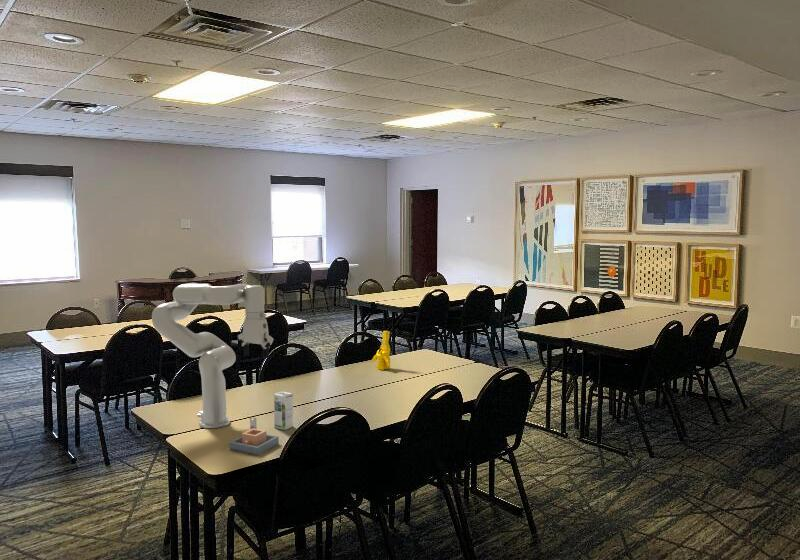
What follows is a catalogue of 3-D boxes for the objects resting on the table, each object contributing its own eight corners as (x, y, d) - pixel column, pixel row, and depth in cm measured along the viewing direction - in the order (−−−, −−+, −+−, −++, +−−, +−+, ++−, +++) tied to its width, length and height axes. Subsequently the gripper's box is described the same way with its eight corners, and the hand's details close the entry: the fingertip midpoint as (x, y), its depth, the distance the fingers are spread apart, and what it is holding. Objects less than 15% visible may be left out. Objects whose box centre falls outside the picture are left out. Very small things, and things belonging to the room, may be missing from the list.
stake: (249, 433, 247) (248, 419, 246) (253, 431, 249) (252, 417, 248) (254, 434, 246) (253, 420, 245) (257, 432, 248) (257, 418, 247)
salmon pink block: (253, 440, 236) (252, 428, 236) (266, 443, 234) (266, 430, 233) (239, 448, 229) (238, 435, 228) (252, 450, 226) (252, 437, 226)
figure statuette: (368, 367, 357) (368, 330, 355) (379, 365, 362) (379, 328, 360) (387, 373, 343) (387, 334, 341) (397, 370, 348) (398, 332, 346)
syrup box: (273, 427, 253) (273, 393, 252) (284, 424, 258) (283, 390, 257) (283, 430, 250) (283, 396, 249) (293, 426, 255) (293, 392, 254)
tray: (229, 450, 229) (229, 442, 229) (251, 438, 241) (251, 431, 241) (257, 455, 224) (257, 447, 223) (278, 444, 235) (278, 436, 235)
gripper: (277, 315, 248) (278, 357, 249) (244, 312, 255) (244, 353, 257) (266, 318, 241) (267, 360, 242) (231, 315, 248) (233, 356, 250)
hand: (255, 356), depth 250 cm, fingers open, 9 cm apart
